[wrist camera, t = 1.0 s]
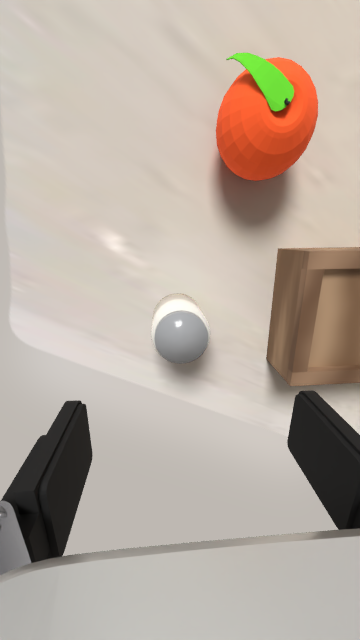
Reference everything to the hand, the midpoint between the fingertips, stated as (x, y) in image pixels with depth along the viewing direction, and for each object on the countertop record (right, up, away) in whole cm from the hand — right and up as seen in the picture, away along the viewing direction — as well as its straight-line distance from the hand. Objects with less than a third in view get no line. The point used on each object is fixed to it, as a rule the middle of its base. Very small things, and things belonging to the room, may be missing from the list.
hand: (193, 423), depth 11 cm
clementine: (+5, +20, +10) cm, 23 cm away
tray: (+15, +6, +16) cm, 23 cm away
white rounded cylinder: (-1, +5, +15) cm, 16 cm away
